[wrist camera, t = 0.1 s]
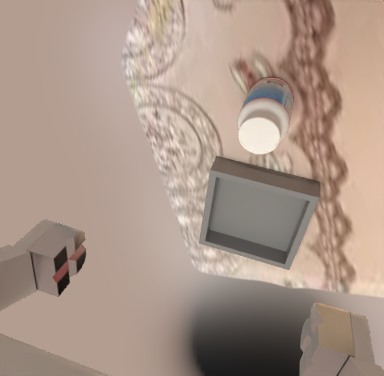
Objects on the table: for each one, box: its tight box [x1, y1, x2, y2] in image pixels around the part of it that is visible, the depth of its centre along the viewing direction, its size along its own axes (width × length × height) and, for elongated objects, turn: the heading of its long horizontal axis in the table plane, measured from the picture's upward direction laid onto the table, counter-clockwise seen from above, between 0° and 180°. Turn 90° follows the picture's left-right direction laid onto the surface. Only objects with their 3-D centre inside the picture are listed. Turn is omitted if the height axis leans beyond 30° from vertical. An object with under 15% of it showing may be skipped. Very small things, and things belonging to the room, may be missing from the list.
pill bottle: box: [237, 78, 293, 154], centre depth 43 cm, size 6×6×11 cm
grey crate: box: [199, 157, 320, 270], centre depth 57 cm, size 16×16×4 cm
